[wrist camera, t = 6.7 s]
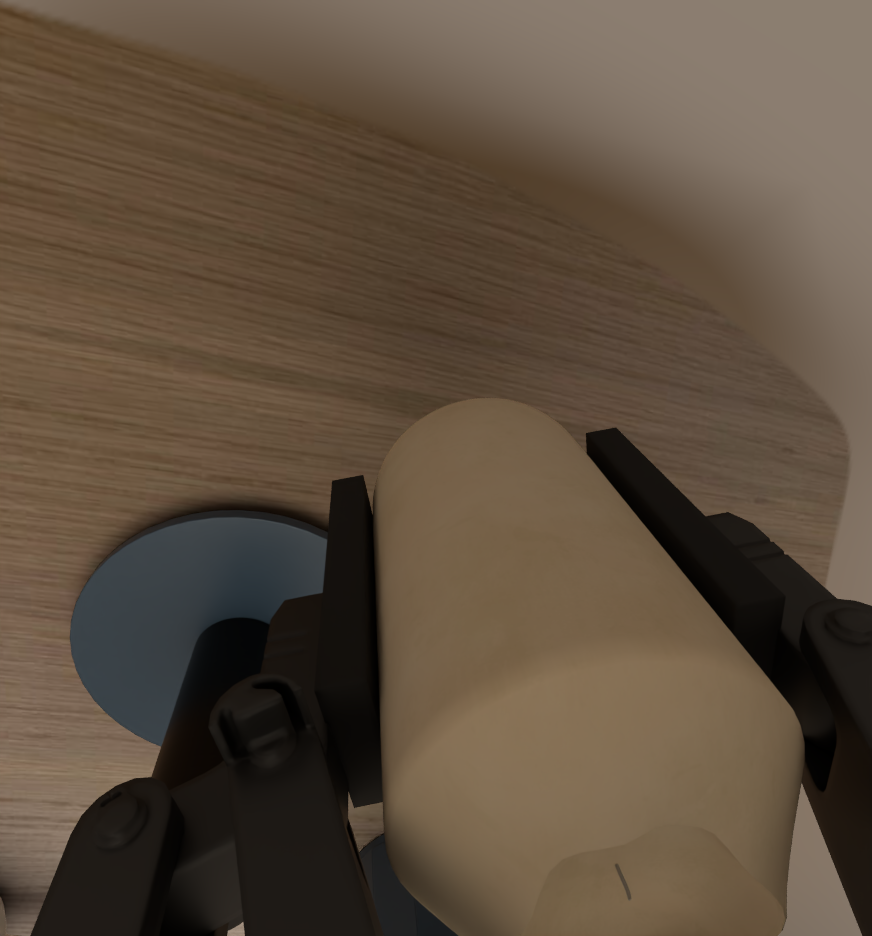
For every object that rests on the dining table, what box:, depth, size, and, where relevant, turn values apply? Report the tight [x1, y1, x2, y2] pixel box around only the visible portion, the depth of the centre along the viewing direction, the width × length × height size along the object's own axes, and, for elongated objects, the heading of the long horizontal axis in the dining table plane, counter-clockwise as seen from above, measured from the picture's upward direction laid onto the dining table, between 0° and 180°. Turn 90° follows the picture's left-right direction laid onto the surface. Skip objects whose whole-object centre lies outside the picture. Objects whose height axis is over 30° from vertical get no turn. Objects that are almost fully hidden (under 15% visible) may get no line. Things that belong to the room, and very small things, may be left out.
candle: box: [373, 398, 805, 936], centre depth 11 cm, size 6×6×10 cm
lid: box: [70, 510, 328, 930], centre depth 22 cm, size 14×14×11 cm
